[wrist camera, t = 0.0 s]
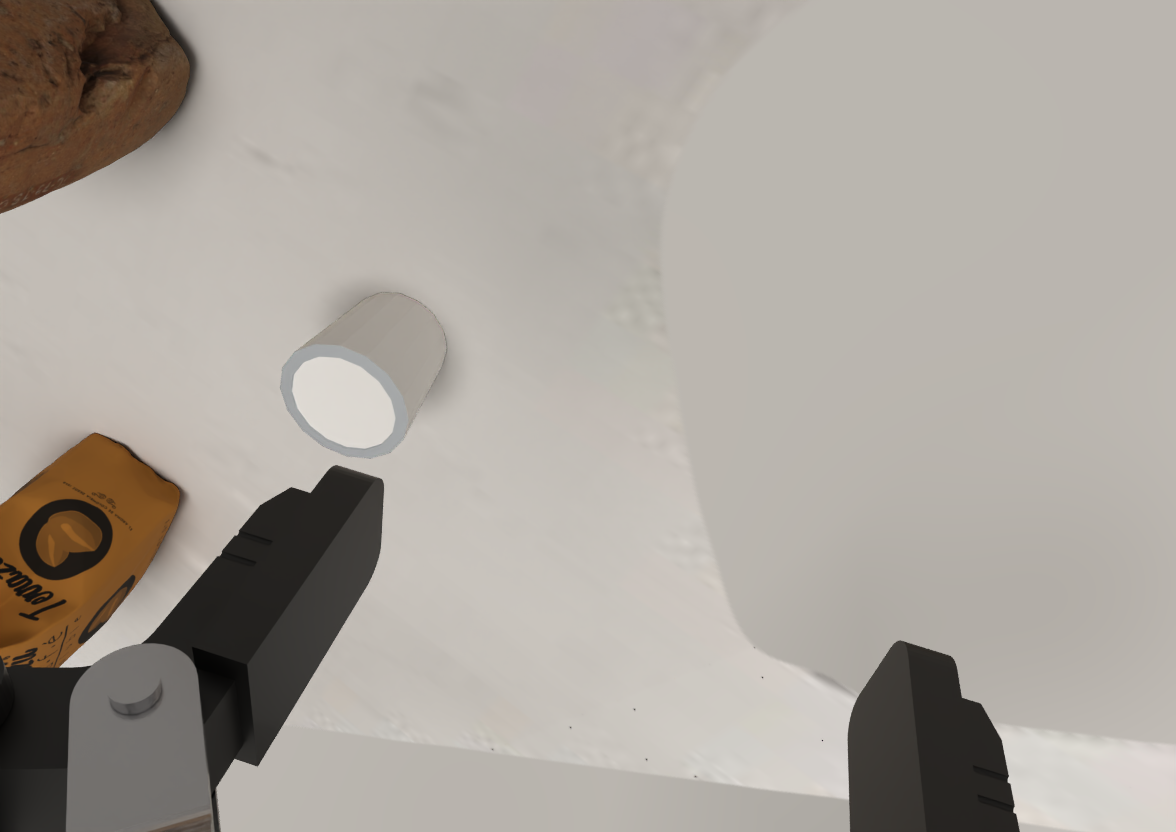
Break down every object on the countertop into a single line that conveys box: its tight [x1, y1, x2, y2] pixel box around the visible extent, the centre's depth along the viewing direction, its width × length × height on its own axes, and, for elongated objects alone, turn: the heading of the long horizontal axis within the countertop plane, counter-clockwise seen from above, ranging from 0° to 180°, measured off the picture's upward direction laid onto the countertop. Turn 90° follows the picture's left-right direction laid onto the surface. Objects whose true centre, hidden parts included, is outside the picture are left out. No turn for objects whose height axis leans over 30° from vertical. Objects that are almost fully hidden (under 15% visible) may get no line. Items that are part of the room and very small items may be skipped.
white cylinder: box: [280, 292, 447, 459], centre depth 44 cm, size 7×7×7 cm
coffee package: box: [0, 433, 180, 668], centre depth 52 cm, size 10×12×22 cm
